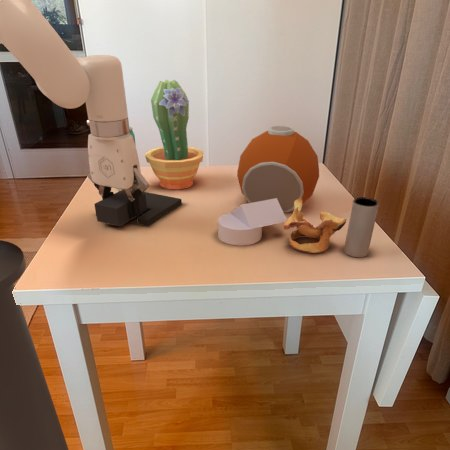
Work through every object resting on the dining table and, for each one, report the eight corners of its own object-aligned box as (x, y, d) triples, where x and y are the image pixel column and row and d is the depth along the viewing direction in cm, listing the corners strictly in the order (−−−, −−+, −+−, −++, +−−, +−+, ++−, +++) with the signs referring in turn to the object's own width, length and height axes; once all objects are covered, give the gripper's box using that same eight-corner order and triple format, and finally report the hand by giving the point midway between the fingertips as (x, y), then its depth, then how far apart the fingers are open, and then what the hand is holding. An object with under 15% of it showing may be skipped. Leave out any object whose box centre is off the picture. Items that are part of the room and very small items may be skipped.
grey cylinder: (371, 257, 80) (383, 205, 74) (348, 258, 80) (358, 206, 74) (362, 246, 84) (373, 196, 78) (340, 247, 83) (349, 197, 77)
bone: (286, 258, 79) (291, 216, 75) (274, 235, 87) (277, 197, 83) (347, 254, 81) (355, 213, 76) (329, 232, 89) (335, 194, 84)
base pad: (97, 214, 96) (96, 208, 95) (134, 195, 106) (133, 189, 106) (148, 226, 91) (147, 219, 90) (181, 204, 101) (181, 198, 100)
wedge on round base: (263, 220, 94) (211, 231, 89) (265, 191, 90) (210, 201, 85) (286, 236, 87) (230, 249, 82) (288, 205, 83) (231, 217, 79)
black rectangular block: (97, 221, 91) (94, 203, 88) (125, 205, 98) (123, 188, 96) (119, 226, 88) (116, 208, 86) (147, 210, 96) (145, 193, 93)
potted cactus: (138, 190, 109) (126, 83, 95) (159, 172, 121) (151, 75, 107) (195, 196, 106) (191, 86, 92) (211, 176, 119) (209, 77, 104)
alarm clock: (318, 194, 107) (328, 122, 98) (311, 221, 93) (321, 140, 84) (245, 187, 112) (248, 117, 102) (228, 211, 98) (229, 134, 88)
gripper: (63, 127, 83) (80, 213, 93) (134, 136, 77) (144, 227, 87) (88, 120, 89) (103, 201, 99) (157, 128, 82) (164, 214, 92)
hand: (122, 213), depth 93 cm, fingers closed on black rectangular block, 5 cm apart
